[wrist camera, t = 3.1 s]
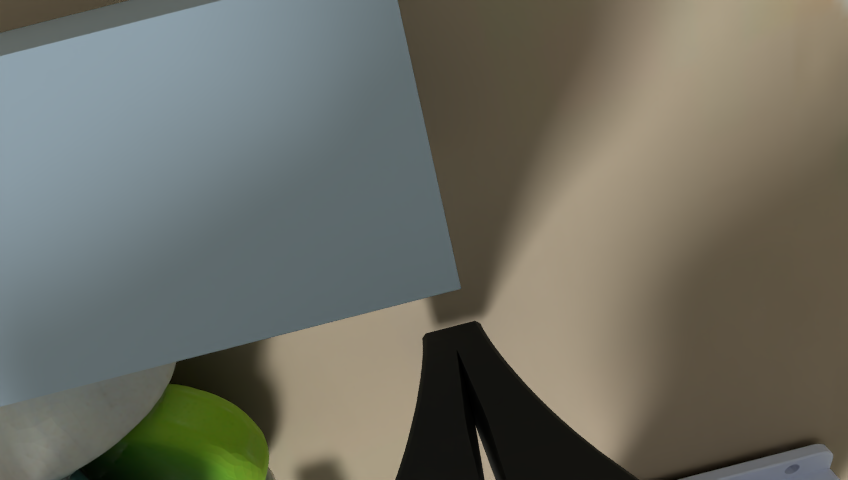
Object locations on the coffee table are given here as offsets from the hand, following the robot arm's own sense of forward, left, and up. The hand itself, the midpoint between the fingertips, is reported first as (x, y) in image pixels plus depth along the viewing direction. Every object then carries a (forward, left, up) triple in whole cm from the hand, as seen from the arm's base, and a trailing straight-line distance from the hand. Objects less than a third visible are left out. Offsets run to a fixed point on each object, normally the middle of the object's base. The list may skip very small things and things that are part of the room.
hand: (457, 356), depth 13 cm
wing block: (+4, -7, -1) cm, 8 cm away
